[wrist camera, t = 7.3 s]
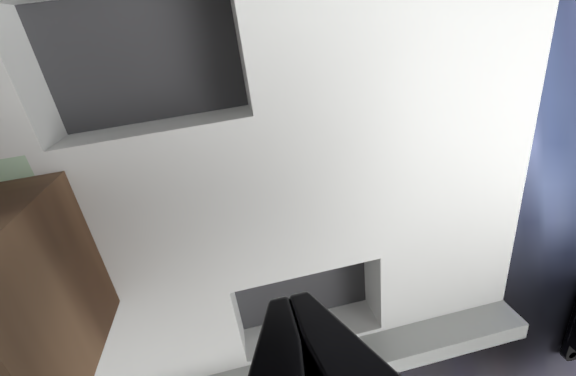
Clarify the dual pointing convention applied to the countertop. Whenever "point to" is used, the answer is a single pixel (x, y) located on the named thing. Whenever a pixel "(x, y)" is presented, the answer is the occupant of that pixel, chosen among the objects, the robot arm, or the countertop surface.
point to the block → (50, 282)
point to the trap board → (284, 163)
